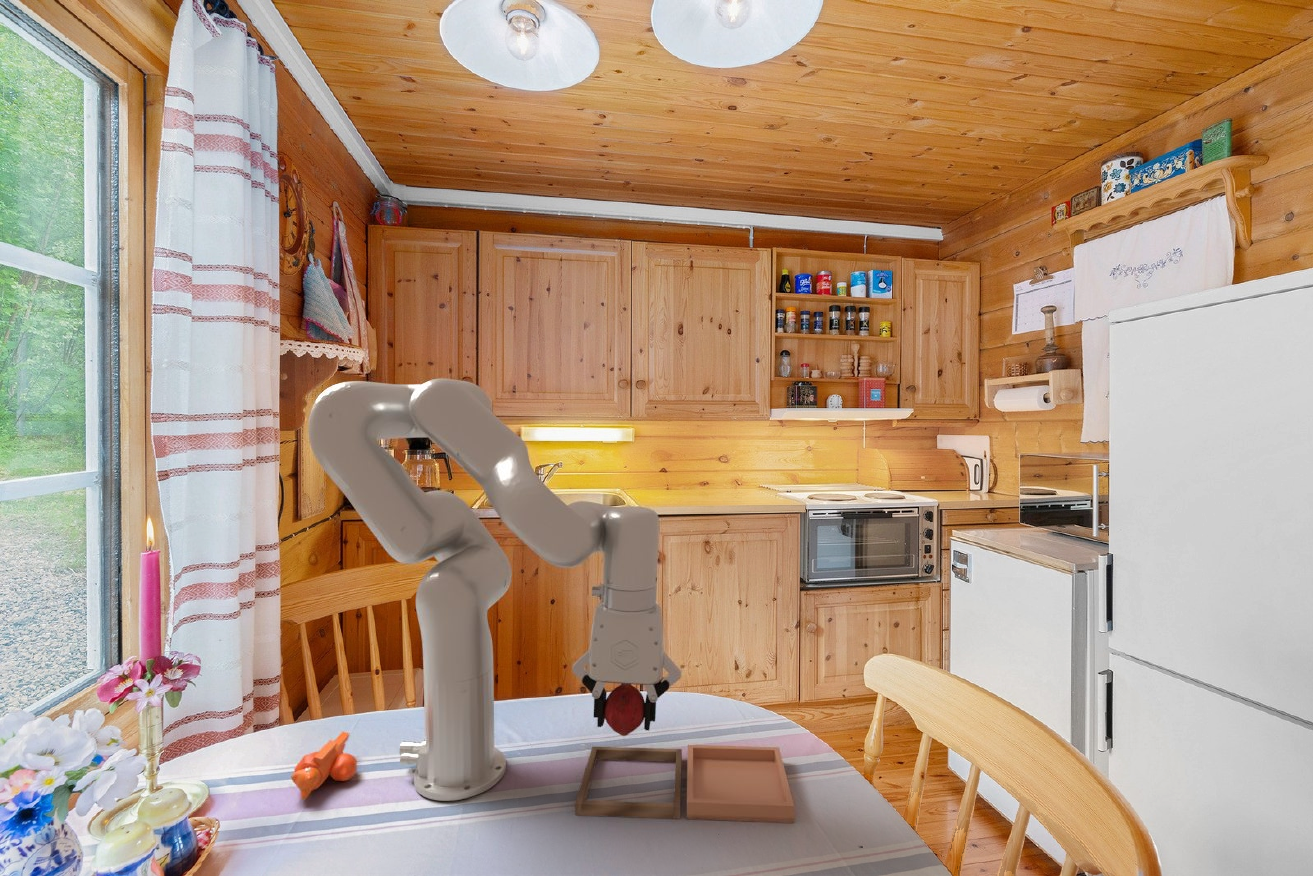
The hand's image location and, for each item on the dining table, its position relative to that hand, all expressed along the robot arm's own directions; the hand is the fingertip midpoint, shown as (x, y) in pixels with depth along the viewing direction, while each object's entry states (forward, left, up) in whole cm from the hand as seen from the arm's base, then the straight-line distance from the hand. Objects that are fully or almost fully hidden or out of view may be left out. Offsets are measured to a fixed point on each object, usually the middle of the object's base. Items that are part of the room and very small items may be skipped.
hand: (624, 722), depth 85 cm
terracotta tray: (+16, 0, -9) cm, 18 cm away
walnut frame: (+1, 0, -9) cm, 9 cm away
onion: (0, 0, -2) cm, 2 cm away
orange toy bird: (-42, -1, -9) cm, 43 cm away
